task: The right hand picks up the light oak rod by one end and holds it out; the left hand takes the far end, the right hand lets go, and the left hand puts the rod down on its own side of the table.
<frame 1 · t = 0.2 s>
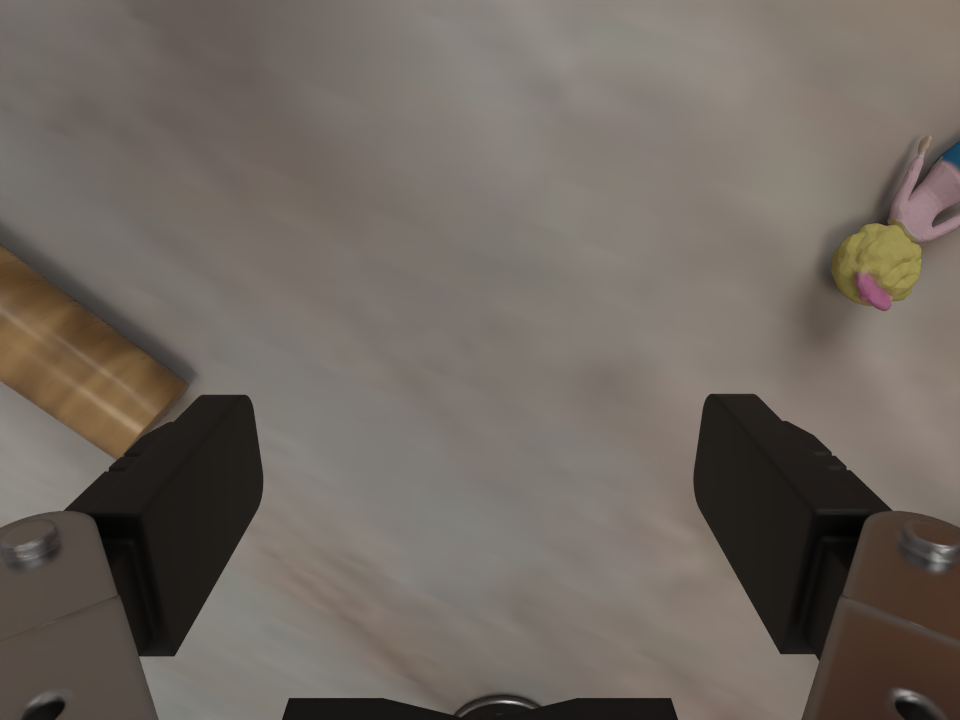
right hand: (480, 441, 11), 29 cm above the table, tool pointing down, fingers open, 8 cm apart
figurine: (921, 191, 37), on the table
rod: (8, 278, 39), on the table
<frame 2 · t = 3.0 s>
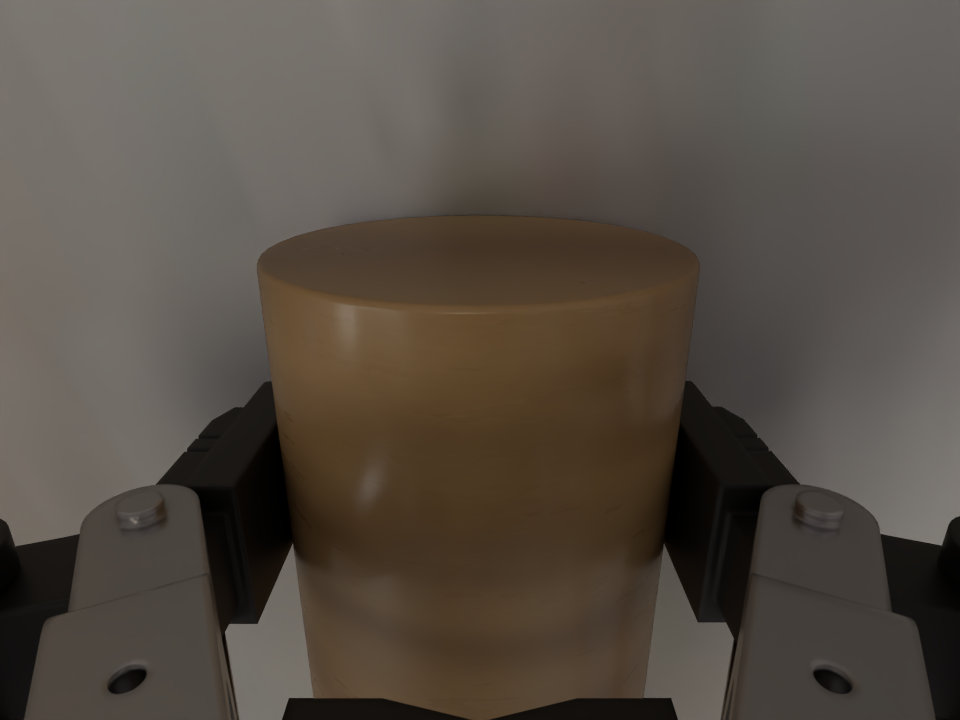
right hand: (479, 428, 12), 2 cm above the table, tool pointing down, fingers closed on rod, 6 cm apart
rod: (478, 695, 16), on the table, touching right hand
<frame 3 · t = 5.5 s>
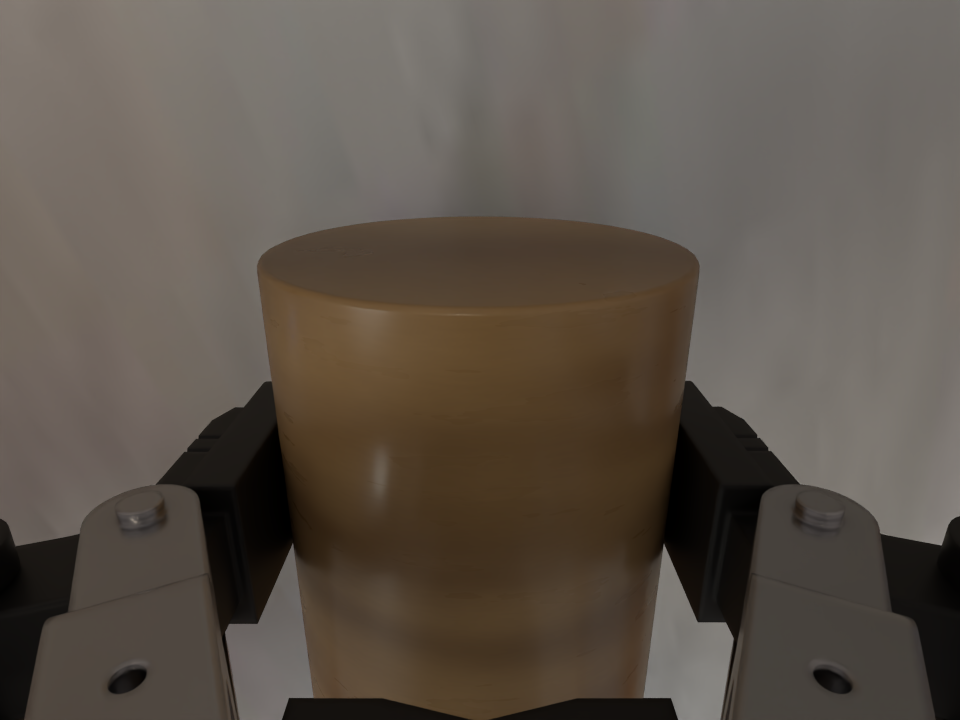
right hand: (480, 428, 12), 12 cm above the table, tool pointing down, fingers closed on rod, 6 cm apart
rod: (479, 695, 16), point 10 cm above the table, touching right hand
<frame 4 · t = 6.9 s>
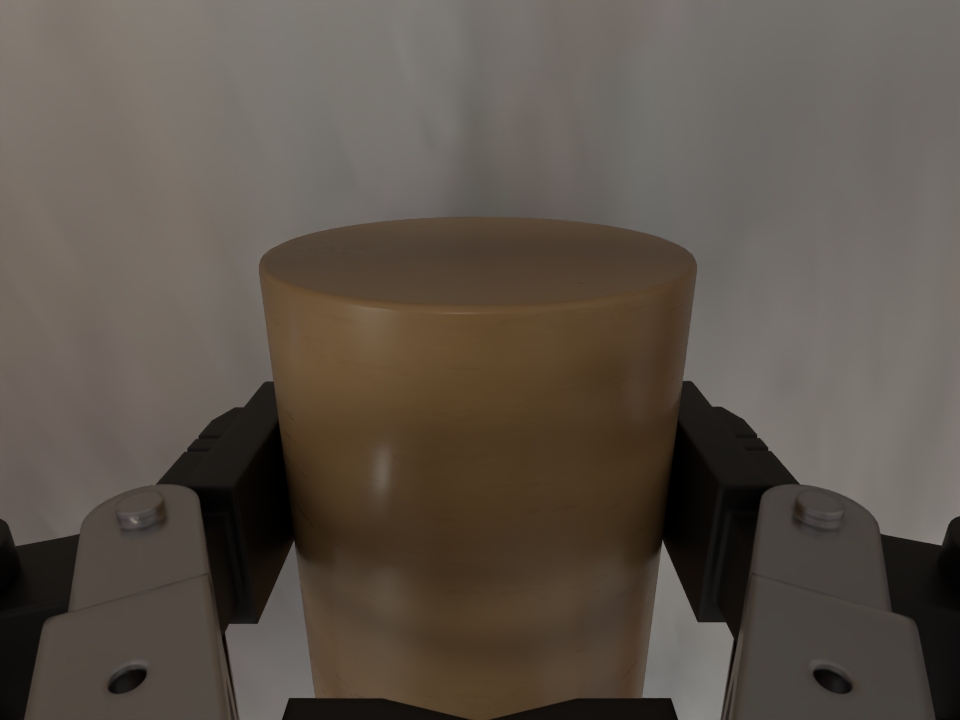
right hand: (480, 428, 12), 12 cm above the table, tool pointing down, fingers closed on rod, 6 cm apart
rod: (479, 694, 17), point 10 cm above the table, touching right hand, left hand
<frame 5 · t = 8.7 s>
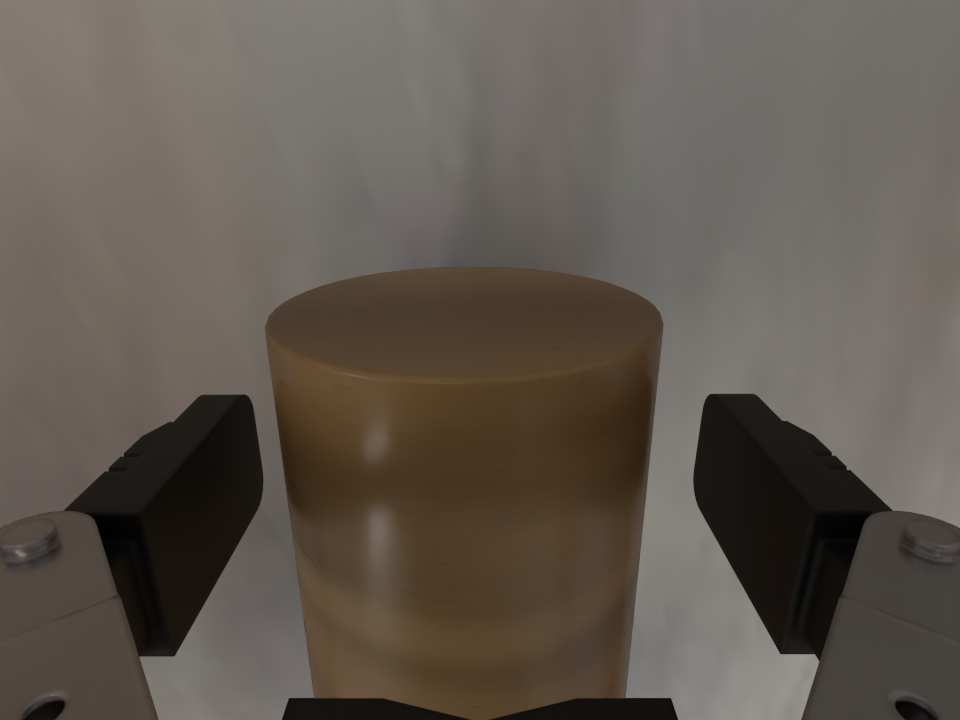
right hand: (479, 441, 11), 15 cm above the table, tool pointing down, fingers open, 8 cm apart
rod: (472, 713, 17), point 12 cm above the table, touching left hand
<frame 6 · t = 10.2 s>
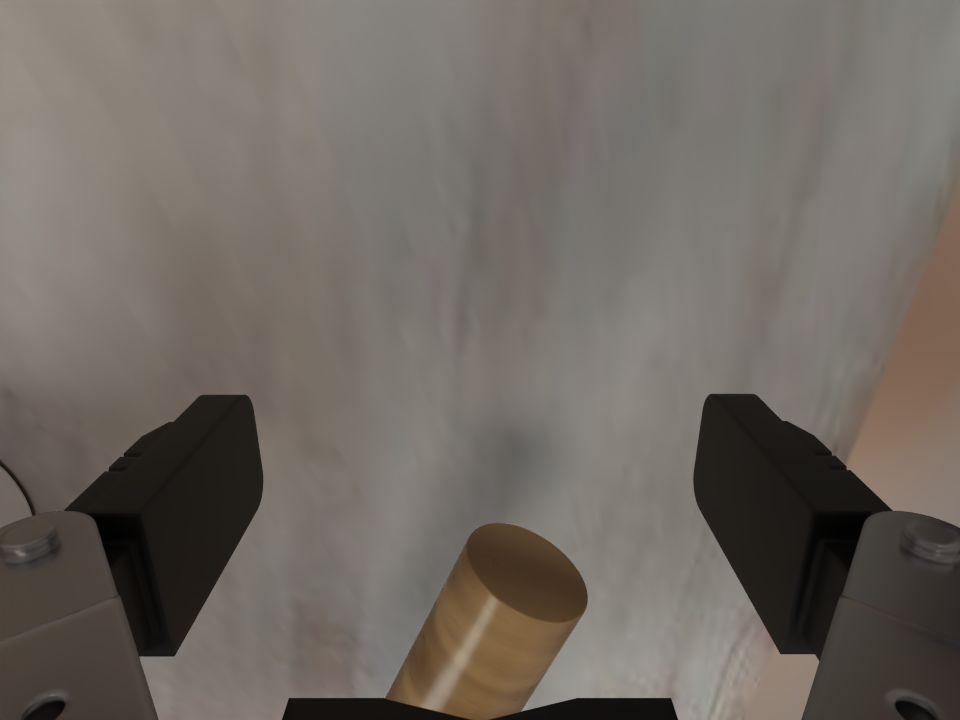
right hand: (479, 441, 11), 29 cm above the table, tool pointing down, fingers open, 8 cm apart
rod: (431, 693, 36), point 13 cm above the table, touching left hand
when the left hand's fingers open (4 cm above the table, at t = 13.9 s): rod drops 1 cm, on the table.
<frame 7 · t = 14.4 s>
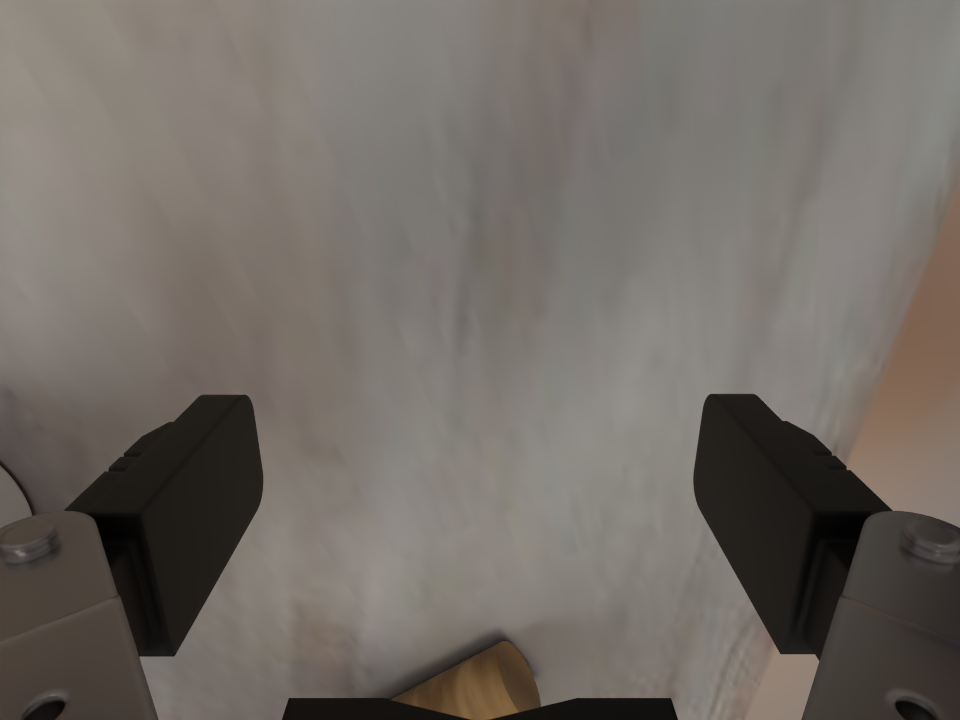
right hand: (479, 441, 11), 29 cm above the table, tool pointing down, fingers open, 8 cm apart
rod: (396, 711, 54), on the table
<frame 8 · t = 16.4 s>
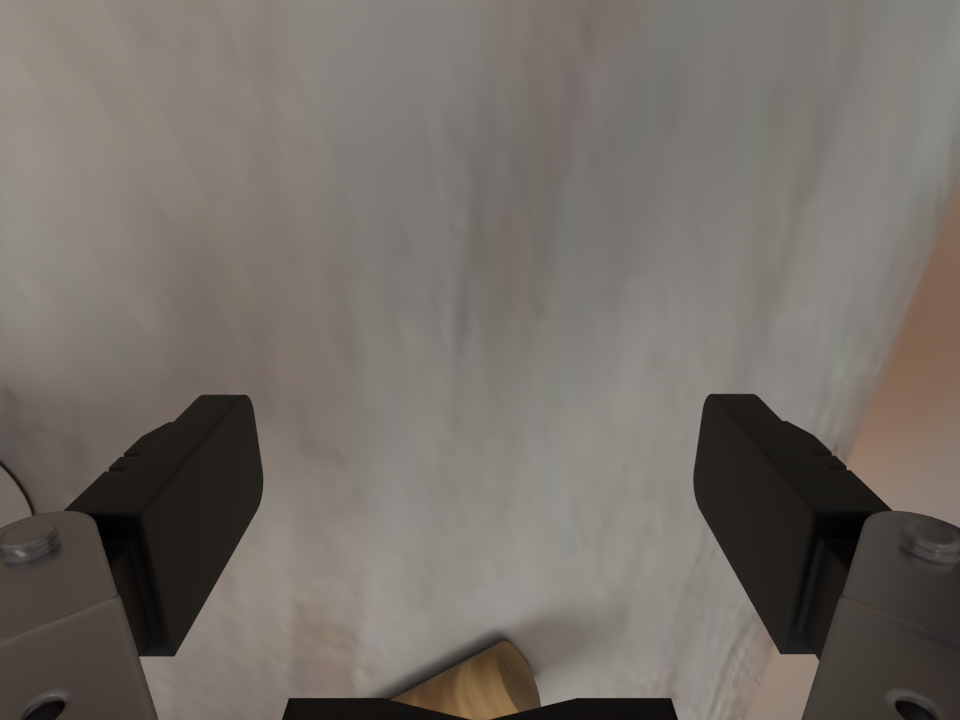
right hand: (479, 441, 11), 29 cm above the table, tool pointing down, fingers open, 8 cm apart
rod: (396, 711, 54), on the table
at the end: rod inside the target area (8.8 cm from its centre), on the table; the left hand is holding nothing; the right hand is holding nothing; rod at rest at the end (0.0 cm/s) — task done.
